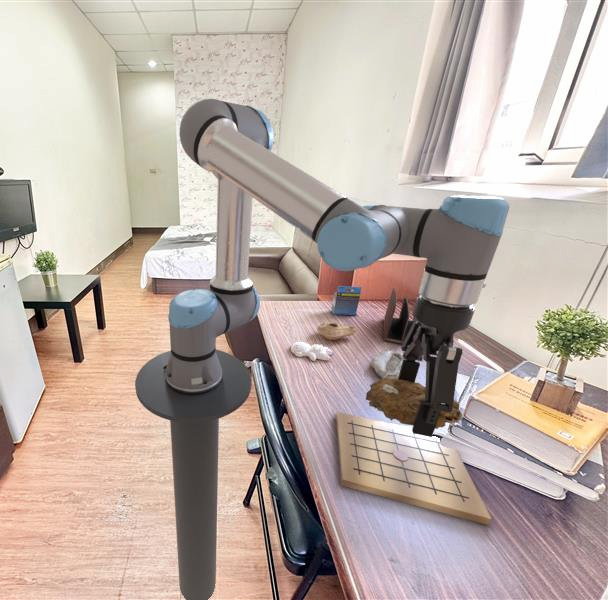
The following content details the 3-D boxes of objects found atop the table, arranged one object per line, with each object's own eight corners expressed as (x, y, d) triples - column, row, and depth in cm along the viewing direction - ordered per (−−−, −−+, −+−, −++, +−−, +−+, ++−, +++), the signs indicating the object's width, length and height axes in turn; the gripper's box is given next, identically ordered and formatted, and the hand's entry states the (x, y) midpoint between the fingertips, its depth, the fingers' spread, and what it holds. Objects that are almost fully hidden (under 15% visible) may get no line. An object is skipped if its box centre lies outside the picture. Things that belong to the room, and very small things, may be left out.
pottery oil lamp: (360, 343, 102) (358, 329, 98) (322, 349, 106) (319, 336, 102) (353, 323, 109) (351, 310, 105) (318, 330, 113) (314, 317, 108)
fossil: (380, 352, 98) (381, 343, 97) (416, 362, 92) (418, 353, 91) (362, 378, 86) (364, 369, 85) (403, 392, 80) (405, 382, 79)
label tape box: (353, 311, 127) (358, 283, 122) (356, 316, 123) (362, 287, 118) (330, 310, 128) (335, 282, 123) (333, 315, 124) (338, 286, 119)
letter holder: (383, 340, 105) (393, 302, 99) (384, 318, 121) (392, 284, 116) (418, 348, 100) (430, 308, 95) (413, 324, 116) (423, 289, 111)
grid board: (341, 485, 56) (342, 479, 55) (335, 416, 72) (337, 411, 71) (488, 525, 49) (492, 518, 49) (447, 440, 65) (449, 434, 65)
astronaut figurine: (327, 365, 91) (328, 356, 90) (287, 353, 97) (288, 345, 96) (333, 352, 98) (334, 343, 97) (295, 342, 104) (296, 334, 103)
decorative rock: (437, 395, 61) (358, 390, 63) (442, 377, 60) (360, 373, 62) (476, 437, 51) (379, 430, 53) (483, 417, 49) (383, 410, 51)
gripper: (519, 337, 37) (463, 469, 45) (445, 279, 58) (416, 376, 66) (445, 328, 39) (405, 455, 47) (400, 275, 60) (377, 370, 68)
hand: (411, 409), depth 57 cm, fingers closed on decorative rock, 11 cm apart
